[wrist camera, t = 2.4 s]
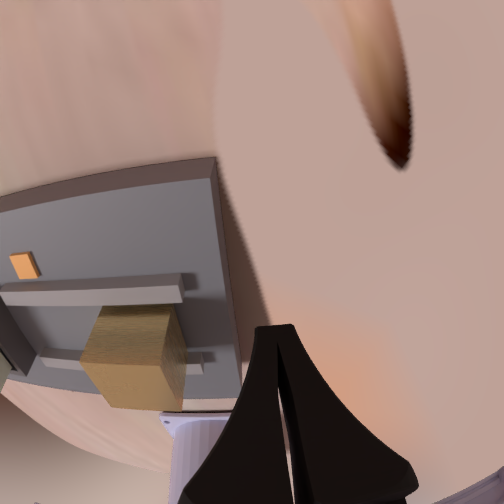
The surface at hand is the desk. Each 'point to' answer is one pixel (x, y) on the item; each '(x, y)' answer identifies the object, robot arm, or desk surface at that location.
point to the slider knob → (138, 357)
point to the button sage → (4, 370)
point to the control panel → (117, 271)
